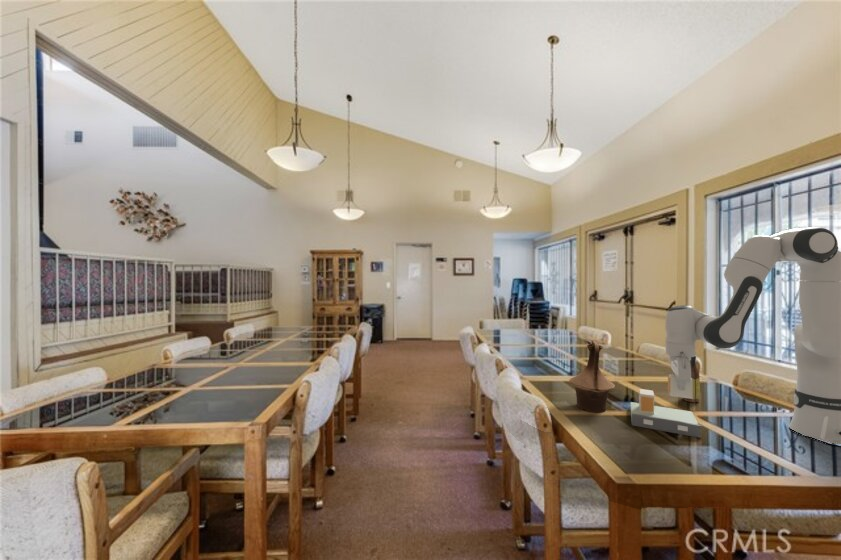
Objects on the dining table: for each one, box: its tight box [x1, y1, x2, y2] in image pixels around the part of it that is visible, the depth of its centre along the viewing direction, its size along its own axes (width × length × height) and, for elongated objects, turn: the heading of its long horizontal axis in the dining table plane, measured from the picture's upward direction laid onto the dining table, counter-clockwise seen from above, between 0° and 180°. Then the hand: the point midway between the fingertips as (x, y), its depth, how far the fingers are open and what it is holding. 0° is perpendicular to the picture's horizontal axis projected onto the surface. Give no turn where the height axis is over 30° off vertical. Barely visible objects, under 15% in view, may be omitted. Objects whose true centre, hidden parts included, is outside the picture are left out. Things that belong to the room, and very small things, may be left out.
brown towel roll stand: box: [568, 339, 616, 413], centre depth 146 cm, size 18×17×28 cm
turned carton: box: [667, 373, 693, 399], centre depth 131 cm, size 4×7×7 cm, turn 61°
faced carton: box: [638, 388, 655, 414], centre depth 136 cm, size 4×7×7 cm, turn 151°
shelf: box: [629, 401, 702, 439], centre depth 132 cm, size 20×17×4 cm
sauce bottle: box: [682, 355, 701, 403], centre depth 154 cm, size 6×6×20 cm
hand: (680, 387), depth 131 cm, fingers closed on turned carton, 4 cm apart
